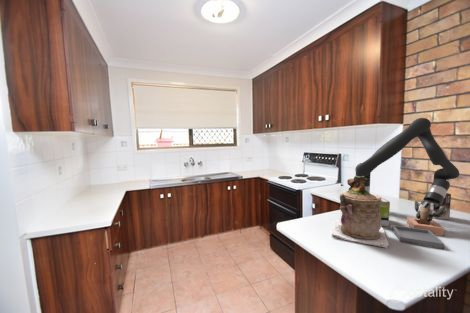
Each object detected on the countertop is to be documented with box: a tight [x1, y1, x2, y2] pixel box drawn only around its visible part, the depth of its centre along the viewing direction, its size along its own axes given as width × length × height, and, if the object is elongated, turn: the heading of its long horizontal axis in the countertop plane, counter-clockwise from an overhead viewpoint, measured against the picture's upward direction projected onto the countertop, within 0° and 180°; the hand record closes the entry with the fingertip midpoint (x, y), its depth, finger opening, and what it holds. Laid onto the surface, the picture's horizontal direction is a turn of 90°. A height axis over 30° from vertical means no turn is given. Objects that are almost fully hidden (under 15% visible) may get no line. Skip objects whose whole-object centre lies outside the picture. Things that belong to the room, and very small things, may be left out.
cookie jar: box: [330, 175, 390, 249], centre depth 109 cm, size 25×25×32 cm
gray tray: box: [391, 224, 445, 250], centre depth 104 cm, size 16×16×2 cm
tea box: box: [374, 194, 391, 227], centre depth 126 cm, size 15×10×15 cm
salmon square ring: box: [406, 216, 445, 237], centre depth 114 cm, size 12×12×4 cm
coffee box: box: [433, 192, 452, 220], centre depth 131 cm, size 9×6×16 cm
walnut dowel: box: [419, 206, 430, 225], centre depth 114 cm, size 4×4×12 cm
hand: (422, 219), depth 113 cm, fingers closed on walnut dowel, 4 cm apart
